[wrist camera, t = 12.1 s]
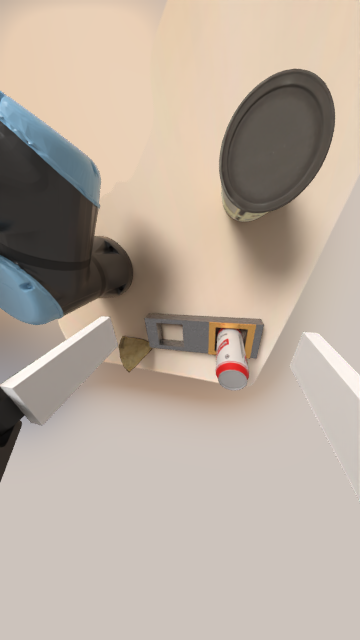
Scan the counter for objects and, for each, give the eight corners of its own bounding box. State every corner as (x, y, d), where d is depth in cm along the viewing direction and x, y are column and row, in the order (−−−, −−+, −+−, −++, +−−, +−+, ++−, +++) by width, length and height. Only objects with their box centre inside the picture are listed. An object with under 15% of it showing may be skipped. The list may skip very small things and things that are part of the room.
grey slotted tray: (153, 341, 50) (149, 347, 47) (148, 313, 45) (143, 318, 43) (254, 351, 43) (256, 359, 40) (260, 319, 38) (264, 325, 36)
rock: (112, 346, 52) (132, 367, 53) (103, 349, 44) (127, 374, 44) (136, 324, 54) (156, 345, 54) (132, 323, 45) (155, 347, 46)
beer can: (213, 338, 44) (209, 384, 31) (223, 320, 41) (223, 363, 27) (234, 346, 44) (240, 396, 30) (246, 329, 41) (257, 377, 27)
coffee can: (265, 128, 24) (307, 21, 12) (294, 191, 27) (353, 153, 15) (209, 185, 29) (200, 149, 17) (238, 234, 31) (248, 233, 19)
